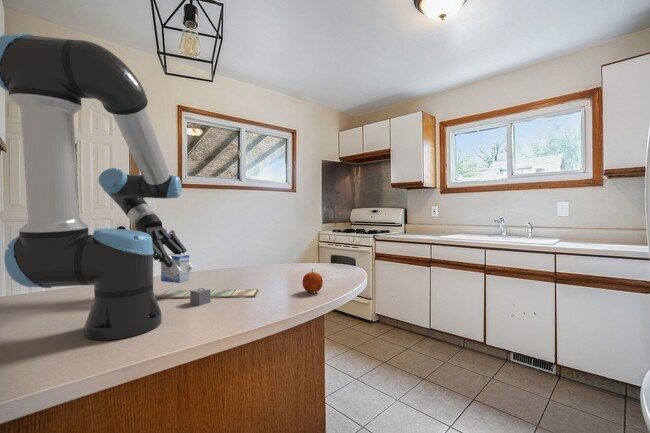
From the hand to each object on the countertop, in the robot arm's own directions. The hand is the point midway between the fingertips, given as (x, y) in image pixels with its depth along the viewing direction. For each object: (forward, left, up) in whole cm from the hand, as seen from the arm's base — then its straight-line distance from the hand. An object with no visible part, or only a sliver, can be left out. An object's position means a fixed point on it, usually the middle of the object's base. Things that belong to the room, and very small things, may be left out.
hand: (184, 271), depth 98 cm
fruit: (-25, -34, -8) cm, 43 cm away
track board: (-4, -7, -8) cm, 11 cm away
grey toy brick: (-12, -1, -8) cm, 14 cm away
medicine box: (+3, +2, -4) cm, 5 cm away
